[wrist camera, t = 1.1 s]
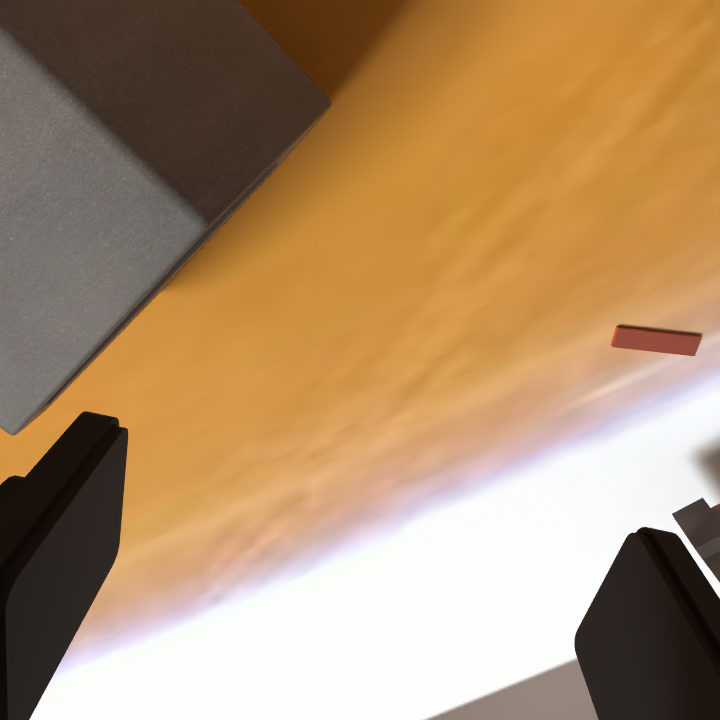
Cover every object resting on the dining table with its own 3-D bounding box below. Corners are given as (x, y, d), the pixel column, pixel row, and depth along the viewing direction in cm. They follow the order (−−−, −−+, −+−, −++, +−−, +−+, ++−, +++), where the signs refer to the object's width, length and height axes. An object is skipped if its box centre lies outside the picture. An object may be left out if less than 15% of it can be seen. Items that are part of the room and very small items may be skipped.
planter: (54, 402, 34) (-21, 467, 15) (-69, 308, 32) (-341, 245, 13) (253, 194, 38) (393, 36, 19) (155, 98, 36) (202, -190, 17)
